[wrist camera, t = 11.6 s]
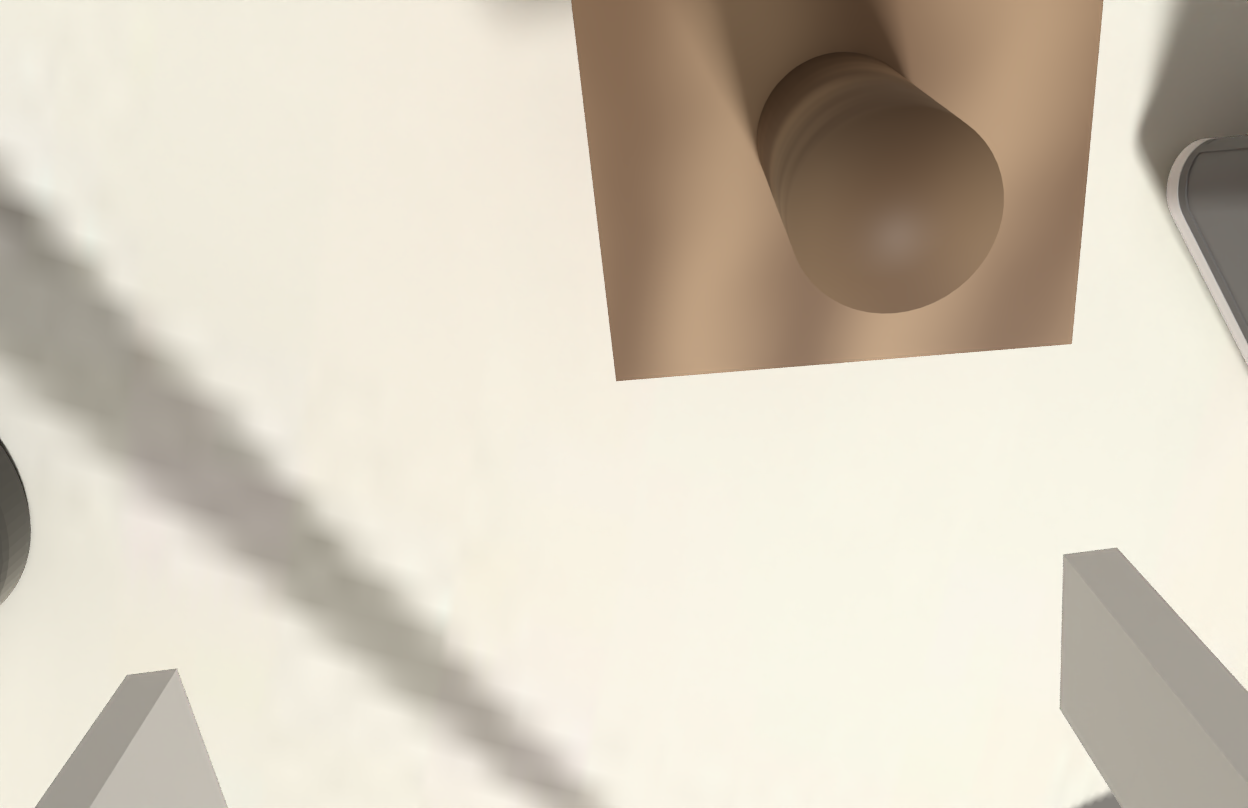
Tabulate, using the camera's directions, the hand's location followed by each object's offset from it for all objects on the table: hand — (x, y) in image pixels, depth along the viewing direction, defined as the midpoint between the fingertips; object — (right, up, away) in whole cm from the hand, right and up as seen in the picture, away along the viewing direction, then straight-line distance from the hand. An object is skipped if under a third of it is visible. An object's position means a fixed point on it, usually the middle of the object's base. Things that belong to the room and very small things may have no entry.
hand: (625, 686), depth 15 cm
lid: (+6, +12, +14) cm, 20 cm away
